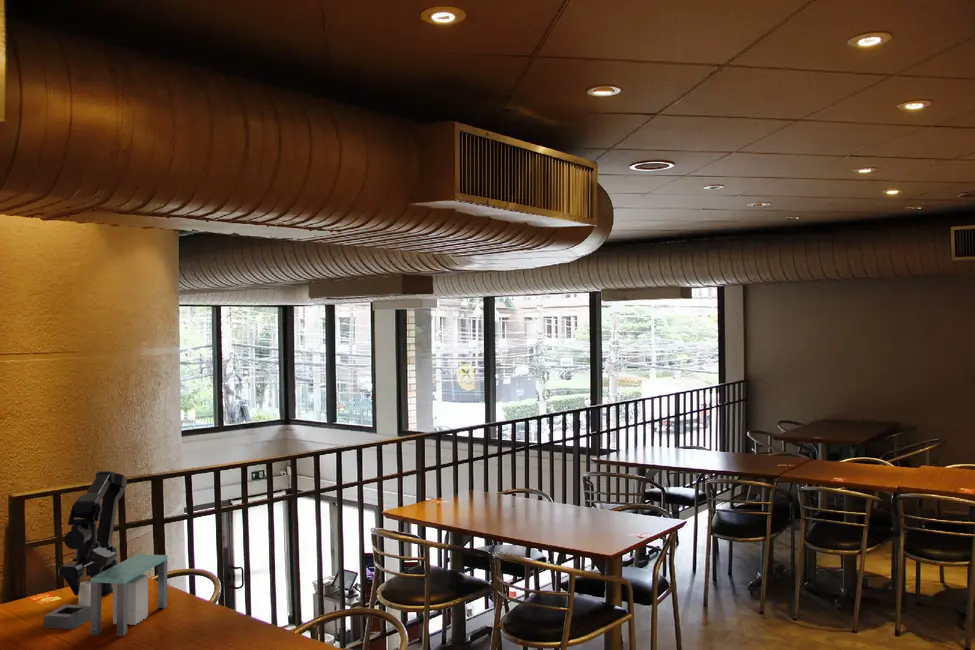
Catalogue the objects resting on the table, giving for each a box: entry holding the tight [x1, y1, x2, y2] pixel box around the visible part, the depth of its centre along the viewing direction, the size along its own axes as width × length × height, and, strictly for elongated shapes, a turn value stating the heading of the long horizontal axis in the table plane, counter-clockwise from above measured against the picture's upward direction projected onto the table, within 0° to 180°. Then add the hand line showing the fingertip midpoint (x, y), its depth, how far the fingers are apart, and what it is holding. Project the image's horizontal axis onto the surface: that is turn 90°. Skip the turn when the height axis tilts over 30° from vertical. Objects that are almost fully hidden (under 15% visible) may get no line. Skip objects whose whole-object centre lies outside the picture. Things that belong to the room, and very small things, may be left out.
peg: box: [77, 580, 91, 606], centre depth 245 cm, size 4×4×8 cm
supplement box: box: [112, 574, 149, 626], centre depth 236 cm, size 7×7×13 cm
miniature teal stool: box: [89, 553, 169, 637], centre depth 236 cm, size 24×10×16 cm, turn 174°
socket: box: [43, 604, 91, 630], centre depth 233 cm, size 9×9×4 cm
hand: (85, 590), depth 245 cm, fingers open, 9 cm apart
